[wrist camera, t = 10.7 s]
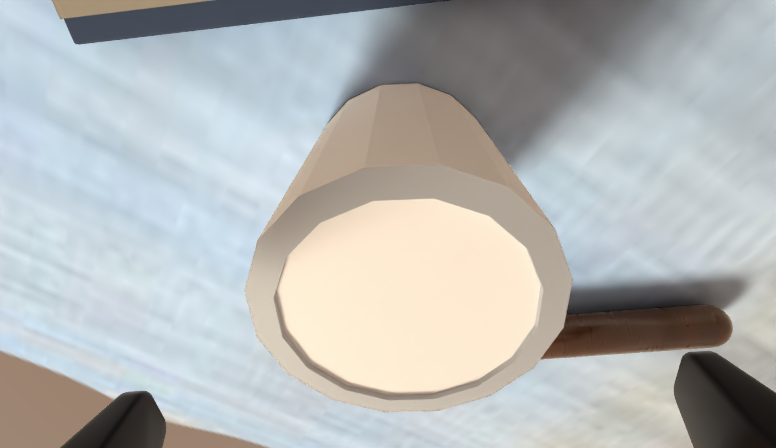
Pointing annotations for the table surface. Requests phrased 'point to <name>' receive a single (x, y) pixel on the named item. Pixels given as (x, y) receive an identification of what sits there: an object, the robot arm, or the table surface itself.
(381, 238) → the white tumbler
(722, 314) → the spoon
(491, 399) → the table surface
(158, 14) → the notebook
